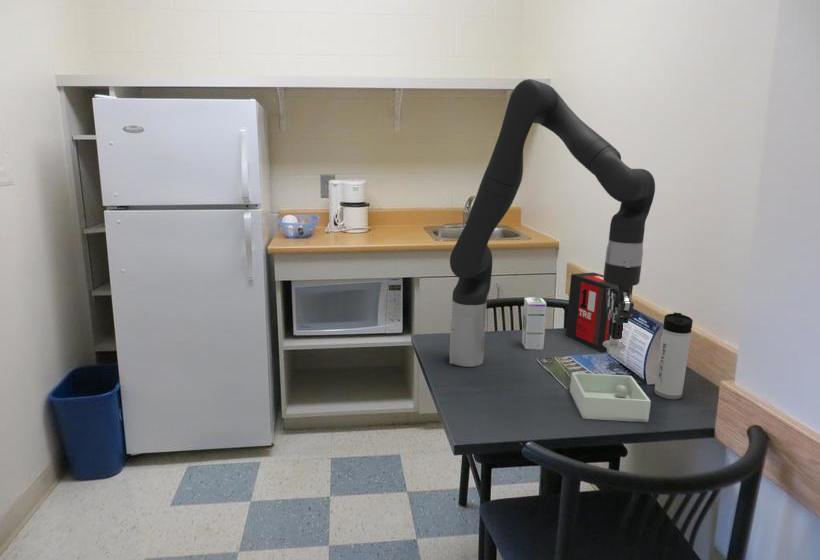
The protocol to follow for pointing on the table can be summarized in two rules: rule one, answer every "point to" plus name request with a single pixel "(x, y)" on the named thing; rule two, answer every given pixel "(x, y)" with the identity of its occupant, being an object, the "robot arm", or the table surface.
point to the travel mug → (673, 356)
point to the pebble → (621, 391)
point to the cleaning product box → (588, 310)
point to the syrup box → (534, 323)
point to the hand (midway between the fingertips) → (614, 336)
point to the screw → (613, 345)
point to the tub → (609, 397)
